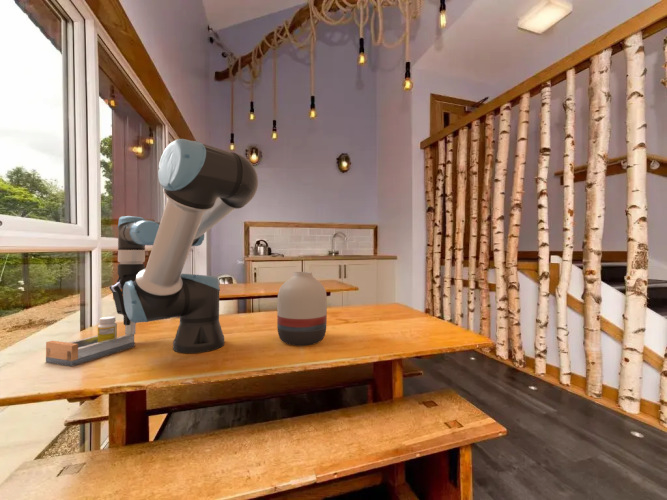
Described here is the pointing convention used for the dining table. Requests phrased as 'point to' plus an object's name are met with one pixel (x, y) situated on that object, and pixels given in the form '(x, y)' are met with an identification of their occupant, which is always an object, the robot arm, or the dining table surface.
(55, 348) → the rail
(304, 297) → the vase
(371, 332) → the dining table surface
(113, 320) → the supplement bottle
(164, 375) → the dining table surface
